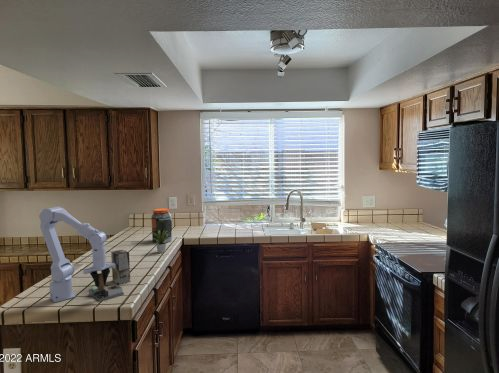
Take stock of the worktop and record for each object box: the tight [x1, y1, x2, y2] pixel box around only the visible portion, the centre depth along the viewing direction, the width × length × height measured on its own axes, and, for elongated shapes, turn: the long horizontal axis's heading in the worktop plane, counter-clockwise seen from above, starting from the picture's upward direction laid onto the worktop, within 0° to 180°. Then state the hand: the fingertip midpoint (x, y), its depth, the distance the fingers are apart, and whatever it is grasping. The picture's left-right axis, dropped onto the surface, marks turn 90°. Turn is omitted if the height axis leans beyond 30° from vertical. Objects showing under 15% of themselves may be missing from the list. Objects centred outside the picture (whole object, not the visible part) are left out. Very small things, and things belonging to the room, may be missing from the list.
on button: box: [91, 285, 99, 292], centre depth 180 cm, size 4×4×2 cm
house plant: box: [151, 230, 173, 254], centre depth 258 cm, size 14×14×16 cm
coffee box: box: [110, 249, 131, 285], centre depth 199 cm, size 9×6×16 cm
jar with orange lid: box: [150, 208, 173, 244], centre depth 293 cm, size 16×16×26 cm
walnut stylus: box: [98, 272, 105, 291], centre depth 174 cm, size 3×3×8 cm
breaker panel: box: [88, 283, 125, 302], centre depth 180 cm, size 12×13×3 cm
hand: (100, 285), depth 174 cm, fingers closed on walnut stylus, 3 cm apart
